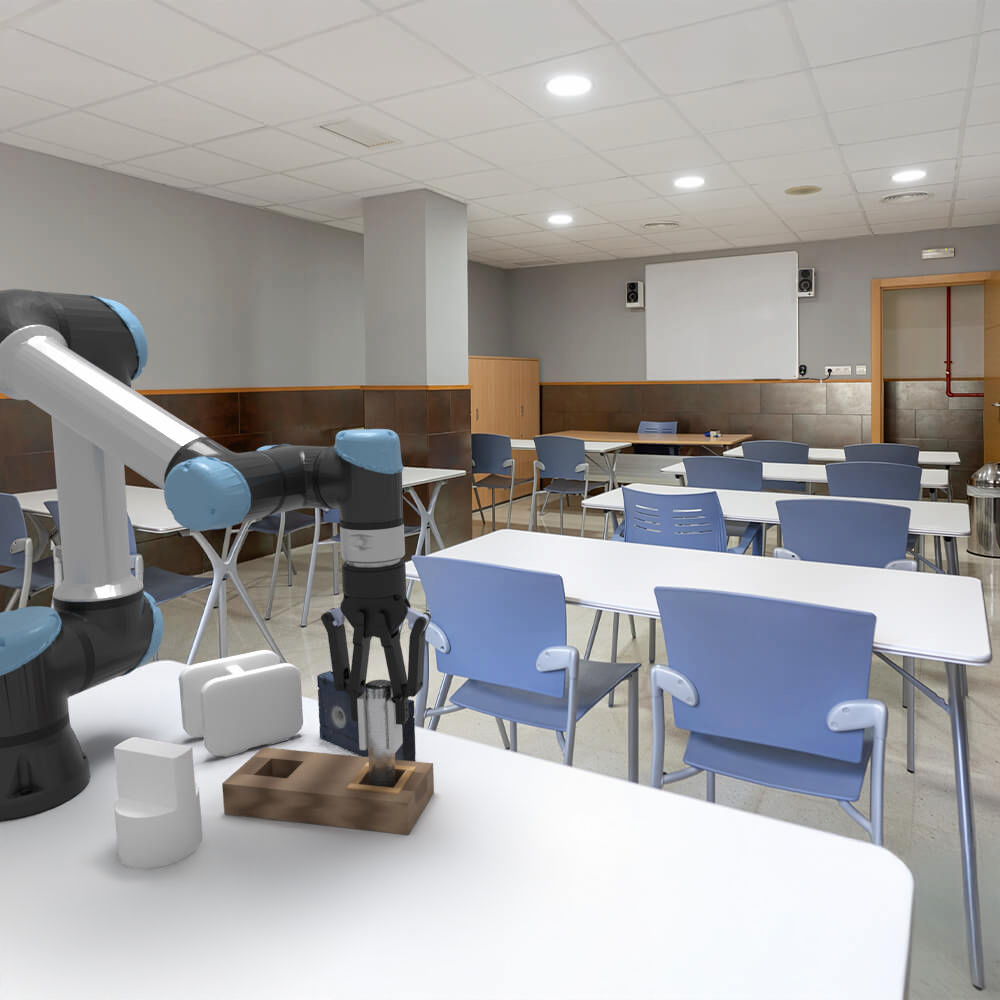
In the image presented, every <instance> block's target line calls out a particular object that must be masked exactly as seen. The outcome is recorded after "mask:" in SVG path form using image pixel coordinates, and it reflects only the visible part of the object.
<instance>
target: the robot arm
mask: <svg viewBox="0 0 1000 1000" xmlns="http://www.w3.org/2000/svg"><path fill="white" fill-rule="evenodd" d="M148 344H149V343H148V340H147V337H146V333H145V330H144V329H143V326H142V324H141V322H140V320H139V319H138V317H137V316H136V315H135V314H133V313H132V312H131V310H130V309H129V308H128V307H127V306H125V305H124V304H123V303H120V302H118V301H116V300H113V299H109V298H104V297H100V296H96V295H90V294H89V295H88V294H73V293H62V292H53V291H51V292H49V291H39V290H32V289H23V288H10V289H4V290H0V393H1V394H2V395H4V396H6V397H8V398H9V399H13V400H18V401H29V402H30V403H32V404H33V405H34V406H37V407H38V408H39V409H41V410H42V411H43V412H46V413H47V414H49V415H50V416H51V426H52V427H51V429H52V441H53V454H54V456H53V457H54V466H55V467H54V468H55V480H56V491H57V492H56V493H57V506H58V519H59V530H60V532H59V534H60V544H61V546H60V547H61V556H62V557H61V558H62V571H63V580H62V582H60V584H59V585H58V586H57V587H56V588H55V589H54V590H53V591H52V601H53V603H52V604H53V608H52V607H49V606H42V605H39V606H34V605H33V606H25V607H19V608H17V609H14V610H10V609H9V610H6V611H2V612H0V821H5V820H10V819H17V818H22V817H26V816H30V815H34V814H37V813H41V812H43V811H46V810H49V809H51V808H54V807H57V806H59V805H60V804H62V803H65V802H66V801H68V800H71V798H73V797H75V796H76V795H78V794H79V793H80V792H81V791H82V790H84V788H85V787H86V786H87V785H88V783H89V782H90V779H91V770H90V762H89V758H88V756H87V754H86V753H85V752H84V751H83V750H82V747H81V744H80V742H79V740H78V738H77V735H76V733H75V731H74V729H73V728H72V725H71V720H70V719H71V718H70V711H69V700H68V699H70V698H71V697H73V696H76V695H78V694H80V693H82V692H84V691H87V690H89V689H92V688H94V687H97V686H100V685H101V684H104V683H106V682H109V681H112V680H115V679H117V678H119V677H125V676H126V675H129V674H130V673H132V672H134V671H135V670H136V669H138V668H141V667H142V666H144V665H145V664H148V663H149V662H150V661H151V660H152V659H153V657H155V656H156V654H157V652H158V651H159V649H160V646H161V645H162V641H163V638H164V628H165V627H164V617H163V614H162V610H161V608H160V607H159V606H156V604H157V601H156V600H155V598H154V597H153V596H152V595H151V594H150V593H148V592H146V591H145V590H144V583H143V582H142V581H141V580H139V579H138V578H137V577H136V576H134V575H133V573H132V571H131V570H132V569H131V556H130V553H131V551H130V538H129V521H128V507H127V506H128V505H127V504H128V503H127V490H126V477H125V476H126V475H125V472H126V471H125V466H127V467H128V468H130V469H131V470H132V471H134V472H136V473H137V474H139V475H140V476H141V477H143V478H144V479H146V480H147V481H149V482H150V483H152V484H154V486H157V487H158V488H159V489H161V490H163V496H164V502H165V505H166V508H167V510H169V511H170V512H171V514H172V516H173V519H174V520H175V522H176V523H177V524H179V525H180V526H182V527H183V528H186V529H187V530H190V531H195V532H203V531H209V530H210V531H211V530H223V529H226V528H231V527H233V526H235V525H236V526H237V525H240V524H243V523H246V522H249V521H254V520H257V519H262V518H265V517H270V516H275V515H278V514H283V513H286V512H289V511H294V510H298V509H328V510H338V520H339V535H340V539H339V540H340V558H341V559H342V560H344V561H345V562H343V564H342V565H341V581H342V585H341V586H342V593H343V597H342V600H341V603H340V606H338V607H336V608H335V607H332V608H330V609H329V610H327V611H325V612H324V613H322V614H321V616H320V620H321V622H322V624H323V626H324V629H325V631H326V633H327V640H328V641H327V642H328V646H329V655H330V661H331V662H330V663H331V670H332V671H331V672H333V679H334V687H335V689H336V690H337V691H339V692H340V691H343V692H346V693H348V694H349V696H350V699H351V717H352V720H353V721H358V727H359V748H360V750H366V749H367V748H368V734H367V712H366V691H365V692H364V689H365V685H366V683H367V676H368V667H369V659H370V658H369V657H370V650H371V640H372V638H373V637H375V638H378V639H379V640H380V645H381V648H383V652H384V657H385V661H386V667H387V673H388V677H389V681H390V683H391V688H392V694H393V696H392V697H391V698H390V699H389V700H388V701H387V707H388V732H389V752H390V753H396V751H397V750H398V749H399V747H400V746H401V745H402V744H403V737H402V725H404V724H405V722H406V721H407V720H408V717H409V709H408V708H409V707H408V699H409V698H410V697H412V698H414V697H416V696H417V694H419V692H420V691H421V690H422V688H423V687H424V676H425V675H424V674H425V671H424V670H425V650H426V634H427V633H426V632H427V629H428V627H429V624H430V622H431V619H432V616H431V614H430V613H429V612H427V611H426V612H423V613H421V612H419V611H417V610H415V609H414V608H411V606H412V605H411V604H410V601H409V600H408V596H407V575H406V574H407V571H406V562H405V561H404V559H402V558H403V557H404V556H405V555H406V544H405V543H406V542H405V540H406V539H405V523H404V512H403V510H404V507H403V503H404V502H403V499H404V498H403V470H404V465H403V462H402V451H401V442H400V441H401V440H400V437H399V435H398V434H397V432H395V431H393V429H392V430H391V429H386V428H371V429H370V428H369V429H366V428H363V429H361V428H359V429H348V430H347V429H345V430H341V431H339V432H337V433H336V435H335V442H334V445H333V446H331V445H329V446H316V445H313V446H312V445H292V444H288V443H287V444H286V443H282V444H273V445H264V446H260V447H259V448H257V449H256V450H254V451H245V452H239V453H238V452H235V451H231V450H229V448H226V447H224V446H223V445H221V444H219V443H218V442H216V441H215V440H213V439H211V438H210V437H208V436H207V435H206V434H203V433H202V432H201V431H199V430H197V429H195V428H194V427H192V426H191V425H189V424H188V423H186V422H184V421H183V420H181V419H179V418H178V417H177V416H175V415H174V414H172V413H170V412H169V411H167V410H166V409H164V408H163V407H161V406H159V405H158V404H156V403H155V402H153V401H152V400H150V399H148V398H147V397H145V396H144V395H142V394H140V393H139V392H138V391H136V390H134V388H133V389H132V382H133V381H135V380H136V379H137V378H139V377H140V376H141V375H142V373H143V372H144V371H143V368H145V367H146V365H147V362H148V357H149V346H148ZM405 619H406V620H407V623H408V624H407V626H408V630H410V635H409V641H408V642H409V643H408V662H407V663H408V665H407V671H406V666H405V662H404V655H403V650H402V645H401V631H400V627H401V625H402V624H403V622H404V621H405ZM346 620H347V621H348V623H349V624H350V625H351V627H352V629H353V634H352V635H353V636H352V644H353V649H352V656H351V658H352V659H351V663H350V656H349V650H348V641H347V634H346V628H345V622H346ZM350 664H351V666H350Z"/></svg>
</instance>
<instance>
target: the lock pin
mask: <svg viewBox="0 0 1000 1000" xmlns="http://www.w3.org/2000/svg"><path fill="white" fill-rule="evenodd" d="M365 689H366V712H367V734H368V756H369V779H370V785H371V786H381V787H391V788H394V786H395V785H396V774H395V753H390V752H389V732H388V707H387V701H388V700H389V699H390V698H391V697H392V688H391V683H390V680H388V679H373V680H369V681H368V682H366V685H365Z"/></svg>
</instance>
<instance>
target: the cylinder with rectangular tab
mask: <svg viewBox="0 0 1000 1000" xmlns="http://www.w3.org/2000/svg"><path fill="white" fill-rule="evenodd" d="M113 753H114V754H113V755H114V765H115V773H116V785H117V786H116V787H117V794H118V795H117V796H118V797H117V798H116V799H115V801H114V804H113V810H114V811H113V812H114V821H115V823H114V824H115V832H116V840H117V841H116V842H117V855H118V858H119V861H120V862H121V863H122V864H123V865H125V866H128V867H131V868H137V869H153V868H159V867H163V866H167V865H171V864H174V863H176V862H178V861H180V860H182V859H185V858H186V857H187V856H189V855H191V854H192V853H194V852H195V851H196V850H197V848H199V847H200V845H201V844H202V841H203V825H202V810H201V799H200V797H201V796H200V787H199V785H198V784H197V783H196V779H195V766H194V765H195V764H194V753H193V747H192V746H189V745H183V744H179V743H178V744H177V743H171V742H166V741H159V740H155V739H154V740H153V739H148V738H143V737H136V736H132V737H130V738H128V739H125V740H124V741H121V742H120V743H119V744H117V745H116V746H114V747H113Z"/></svg>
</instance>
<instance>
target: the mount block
mask: <svg viewBox="0 0 1000 1000" xmlns="http://www.w3.org/2000/svg"><path fill="white" fill-rule="evenodd" d="M395 774H396V785H395V786H394V788H391V787H381V786H371V785H370V779H369V757H362V756H359V755H350V754H349V755H348V754H338V753H328V752H315V751H307V750H305V751H304V750H297V749H285V748H275V747H274V748H273V747H261V749H259V750H258V751H257V752H256V753H255V754H254V755H253V756H251V758H249V759H248V760H247V761H246V762H244V763H243V764H242V765H241V766H240V767H239V768H238V769H237V770H236V771H234V772H232V774H231V775H230V776H229V777H227V778H226V779H225V780H224V781H223V782H222V783H221V785H222V787H221V789H222V800H223V814H225V815H234V816H241V817H251V818H259V819H268V820H277V821H284V822H285V821H287V822H293V823H294V822H295V823H302V824H310V825H318V826H319V825H320V826H328V827H329V826H330V827H337V828H346V829H353V830H354V829H355V830H364V831H372V832H380V833H381V832H382V833H388V834H389V833H390V834H398V835H406V836H407V835H408V836H409V835H410V833H411V831H412V829H413V828H414V827H415V824H416V823H417V821H418V820H419V819H420V816H421V815H422V814H423V812H424V810H425V809H426V806H427V804H428V803H429V801H430V800H431V798H432V796H433V795H434V793H435V784H434V782H435V781H434V763H433V762H424V761H423V762H422V761H416V762H415V761H404V760H395Z"/></svg>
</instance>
